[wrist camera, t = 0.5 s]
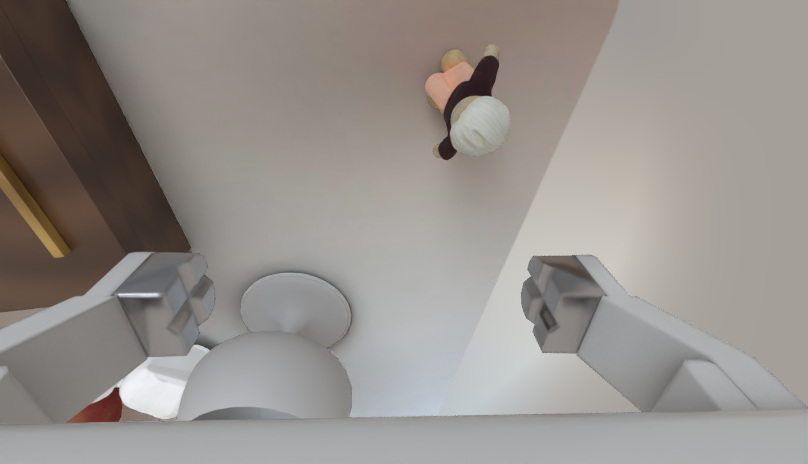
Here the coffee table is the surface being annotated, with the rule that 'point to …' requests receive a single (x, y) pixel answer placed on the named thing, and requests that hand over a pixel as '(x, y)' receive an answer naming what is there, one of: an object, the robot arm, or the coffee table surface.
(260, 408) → the chalice
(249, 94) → the coffee table surface
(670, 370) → the robot arm
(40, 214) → the box with brass rails
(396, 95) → the coffee table surface
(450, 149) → the grandmother figurine
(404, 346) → the coffee table surface
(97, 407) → the fruit
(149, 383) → the white low-poly sculpture
